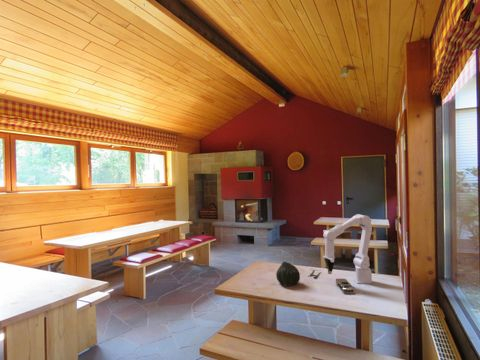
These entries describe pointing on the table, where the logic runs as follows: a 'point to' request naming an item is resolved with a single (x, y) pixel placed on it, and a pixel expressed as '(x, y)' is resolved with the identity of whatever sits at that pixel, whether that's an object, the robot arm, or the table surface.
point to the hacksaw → (315, 275)
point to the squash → (287, 274)
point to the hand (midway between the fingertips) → (329, 270)
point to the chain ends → (345, 286)
